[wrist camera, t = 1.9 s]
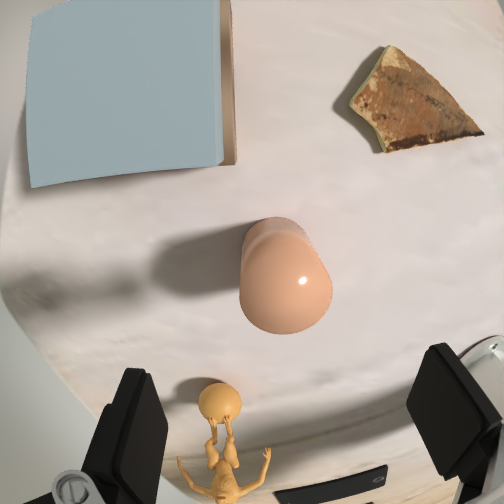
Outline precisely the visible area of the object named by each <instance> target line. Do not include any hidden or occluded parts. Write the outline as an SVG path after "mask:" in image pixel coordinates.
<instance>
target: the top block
mask: <svg viewBox="0 0 504 504" xmlns="http://www.w3.org/2000/svg"><path fill="white" fill-rule="evenodd" d="M26 137H27V153H28V164H29V174H30V183H31V188H36V187H41V186H46V185H52V184H58V183H64V182H70V181H77V180H83V179H90V178H97V177H105V176H112V175H121V174H129V173H138V172H148V171H159V170H170V169H183V168H197V167H213V166H218V165H219V164H220V163H221V162H222V161H223V160H224V149H223V122H222V90H221V47H220V0H69V1H67V2H64V3H62V4H59V5H57V6H55V7H52V8H50V9H48V10H46V11H43V12H41V13H39V14H37V15H35V16H33V19H32V26H31V33H30V41H29V50H28V61H27V76H26Z"/></svg>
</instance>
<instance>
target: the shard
mask: <svg viewBox="0 0 504 504" xmlns="http://www.w3.org/2000/svg"><path fill="white" fill-rule="evenodd" d="M349 106H350V108H352V109H353V110H354V111H355V112H356V113H357V114H359V115H361V116H362V117H363V118H364V119H365V120H366V121H367V122H368V123H369V124H370V125H371V126H372V127H373V128H374V130H375V132H376V135H377V138H378V140H379V142H380V146H381V148H382V150H383V151H384V152H385V153H391V152H393V151H398V150H401V149H410V148H413V147H417V146H425V145H429V144H437V143H443V142H448V141H454V140H457V139H461V138H463V137H468V136H475V137H477V136H481V135H484V132H482V131H481V129H480V128H479V127H478V126H477V125H476V123H475V122H474V121H473V119H471V118H470V117H469V116H468V115H467V114H466V113H465V112H464V110H463V109H462V108H461V107H460V106H459V105H458V103H457V102H456V101H455V100H454V98H453V97H452V96H451V95H450V93H449V92H448V91H447V90H446V89H445V88H444V87H443V86H441V85H440V83H439V82H438V81H437V80H436V79H435V78H434V77H433V76H432V75H431V74H429V73H428V72H427V71H426V70H425V69H424V68H423V67H422V66H421V65H419V64H418V63H417V62H416V61H414V60H413V59H411V58H409V57H408V56H406V55H405V54H404V53H403V52H402V51H401V50H400V49H398V48H397V47H394V46H390V45H388V46H387V47H386V48H385V49H384V50H383V52H382V54H381V56H380V58H379V59H378V61H377V62H376V64H375V66H374V68H373V69H372V71H371V72H370V74H369V76H368V77H367V78H366V80H365V81H364V82H363V83H362V84H361V86H360V87H359V89H358V90H357V92H356V93H355V94H354V95H353V96H352V98H351V100H350V105H349Z"/></svg>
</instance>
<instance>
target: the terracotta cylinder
mask: <svg viewBox="0 0 504 504" xmlns="http://www.w3.org/2000/svg"><path fill="white" fill-rule="evenodd" d="M332 292H333V288H332V282H331V278H330V276H329V274H328V272H327V270H326V268H325V267H324V265H323V263H322V261H321V259H320V258H319V256H318V254H317V252H316V251H315V249H314V247H313V245H312V244H311V242H310V240H309V238H308V237H307V235H306V233H305V232H304V230H303V229H302V228H301V227H300V226H299V225H298V224H297V223H295V222H294V221H292V220H290V219H287V218H282V217H271V218H266V219H264V220H261V221H259V222H257V223H256V224H255V225H253V226H252V227H251V228H250V229H249V231H248V232H247V234H246V235H245V237H244V240H243V243H242V254H241V274H240V296H239V299H240V305H241V308H242V310H243V312H244V314H245V316H246V317H247V319H248V320H249V321H250V322H251V323H252V324H253V325H255V326H256V327H258V328H259V329H261V330H263V331H266V332H269V333H273V334H293V333H297V332H300V331H303V330H305V329H307V328H309V327H311V326H313V325H314V324H315V323H316V322H318V321H319V320H320V319H321V318H322V317H323V315H324V314H325V313H326V311H327V309H328V307H329V305H330V303H331V299H332Z"/></svg>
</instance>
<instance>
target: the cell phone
mask: <svg viewBox="0 0 504 504" xmlns="http://www.w3.org/2000/svg"><path fill="white" fill-rule="evenodd" d="M387 471H388V466H387V465H383V466H380V467H377V468H374V469H370V470H367V471H364V472H361V473H357V474H354V475H350V476H346V477H343V478H339V479H335V480H331V481H326V482H322V483H318V484H313V485H308V486H303V487H297V488H292V489H286V490H279V491H276V492H275V495H276V497H277V498H278V500H279V501H280V503H281V504H319V503H324V502H328V501H333V500H337V499H341V498H345V497H349V496H352V495H356V494H359V493H363V492H366V491H369V490H373V489H376V488H379V487H382V486H384V485H385V482H386V476H387Z"/></svg>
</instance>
